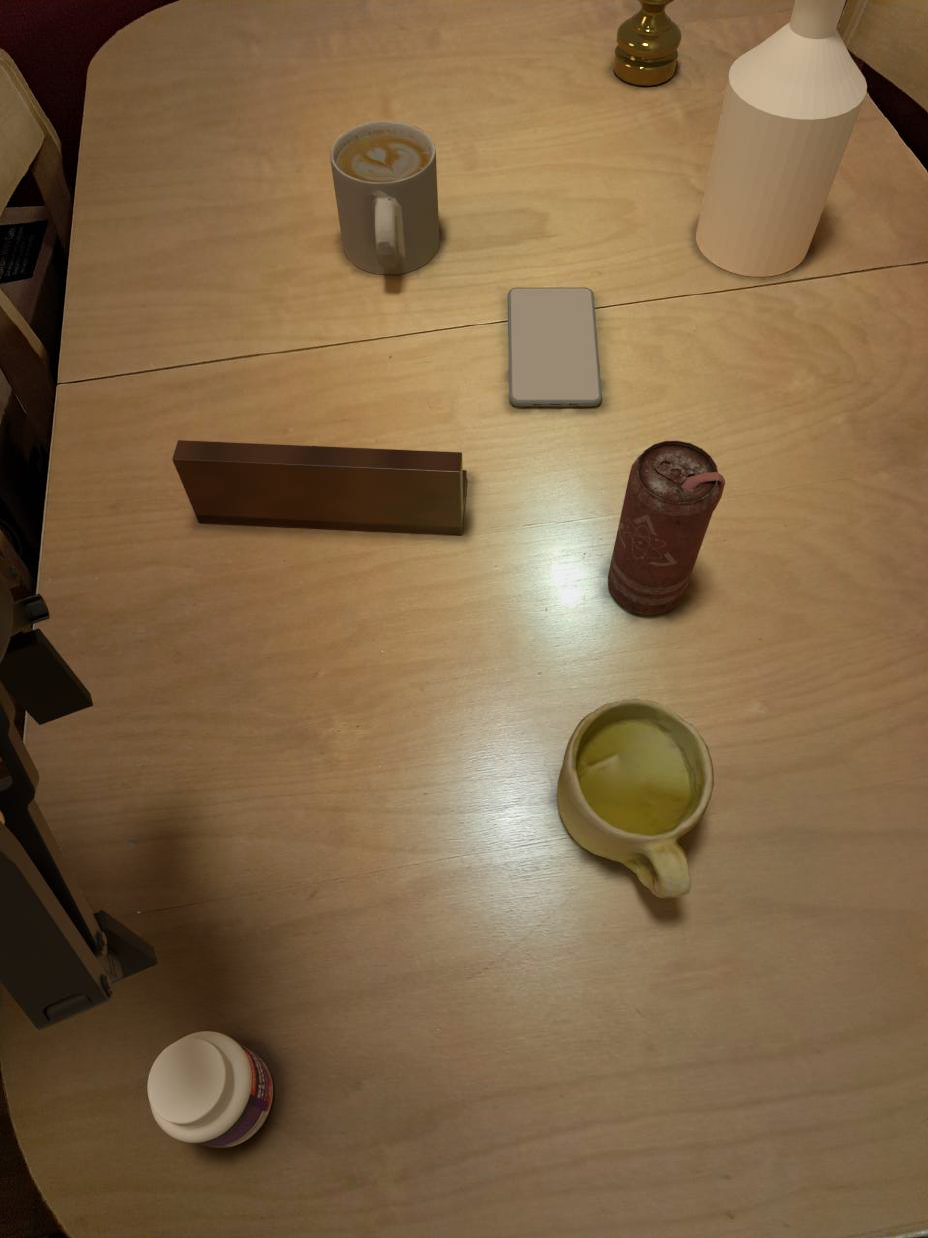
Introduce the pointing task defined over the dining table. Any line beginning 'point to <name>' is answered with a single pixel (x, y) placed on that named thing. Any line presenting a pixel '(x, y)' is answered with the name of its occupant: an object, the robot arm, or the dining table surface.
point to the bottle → (780, 144)
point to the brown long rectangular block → (323, 487)
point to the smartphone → (553, 347)
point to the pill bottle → (209, 1090)
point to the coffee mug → (386, 196)
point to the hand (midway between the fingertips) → (93, 829)
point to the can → (663, 525)
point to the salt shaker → (647, 45)
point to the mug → (636, 789)
